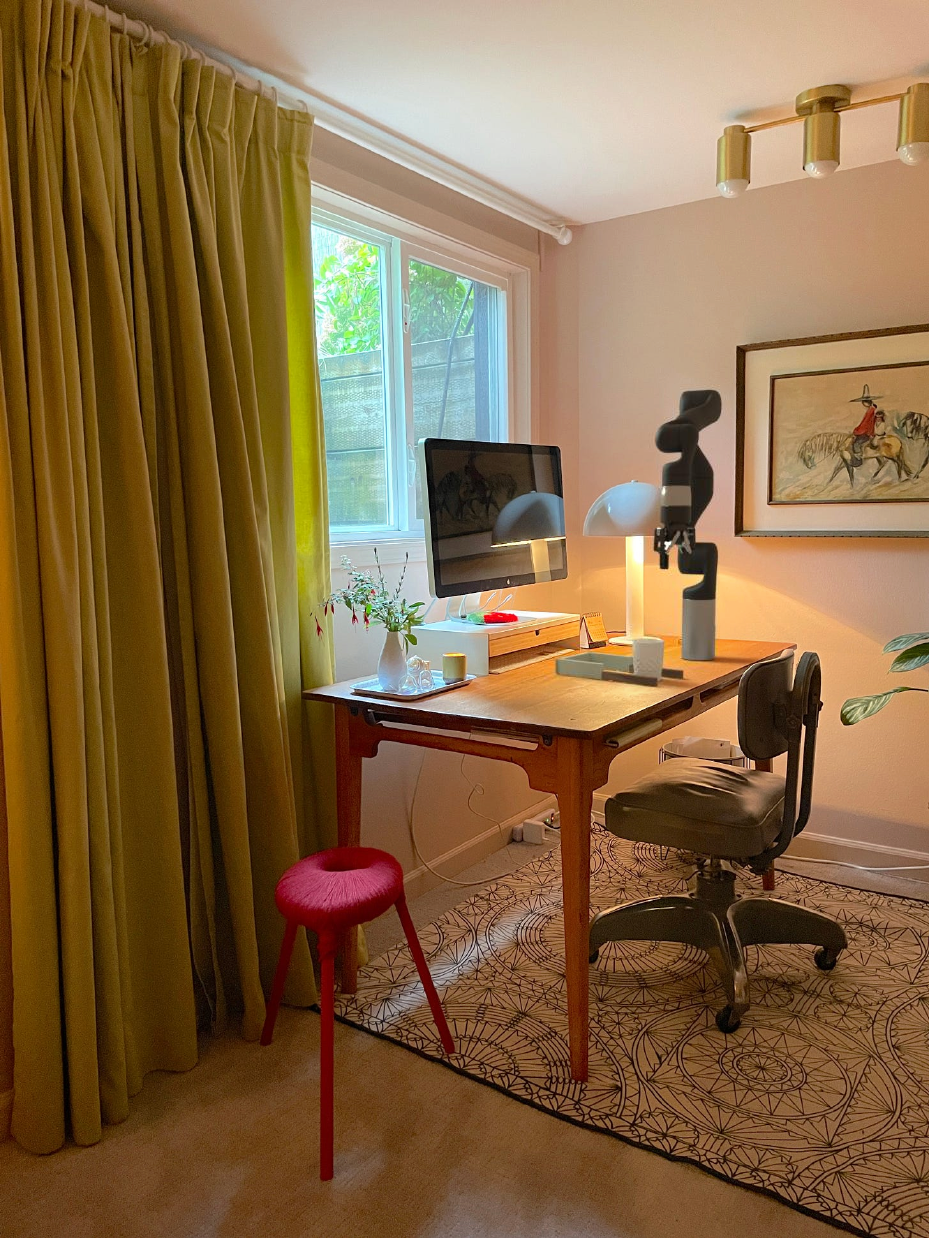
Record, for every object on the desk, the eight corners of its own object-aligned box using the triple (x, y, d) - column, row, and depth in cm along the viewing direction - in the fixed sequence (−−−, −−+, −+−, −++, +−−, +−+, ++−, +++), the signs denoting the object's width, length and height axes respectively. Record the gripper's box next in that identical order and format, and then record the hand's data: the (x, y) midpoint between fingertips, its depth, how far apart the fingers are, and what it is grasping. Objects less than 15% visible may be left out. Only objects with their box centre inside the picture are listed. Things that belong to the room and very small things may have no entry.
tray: (588, 666, 259) (588, 651, 258) (633, 671, 249) (633, 656, 249) (555, 673, 247) (555, 658, 247) (601, 679, 238) (601, 664, 237)
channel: (632, 671, 249) (632, 664, 249) (683, 678, 239) (683, 670, 239) (601, 679, 238) (601, 671, 238) (654, 686, 228) (654, 678, 228)
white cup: (625, 679, 239) (625, 640, 237) (646, 675, 243) (647, 637, 242) (648, 683, 232) (649, 643, 231) (670, 680, 237) (670, 640, 236)
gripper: (680, 505, 245) (679, 567, 246) (646, 504, 235) (645, 569, 237) (705, 504, 239) (703, 568, 240) (670, 503, 230) (669, 570, 231)
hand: (674, 568), depth 239 cm, fingers open, 8 cm apart
